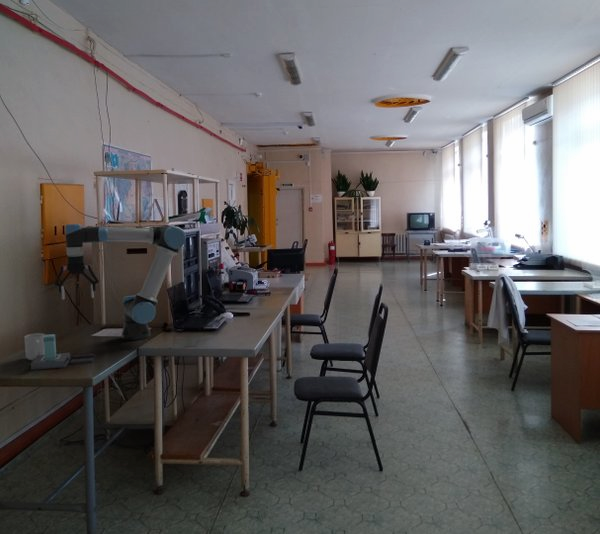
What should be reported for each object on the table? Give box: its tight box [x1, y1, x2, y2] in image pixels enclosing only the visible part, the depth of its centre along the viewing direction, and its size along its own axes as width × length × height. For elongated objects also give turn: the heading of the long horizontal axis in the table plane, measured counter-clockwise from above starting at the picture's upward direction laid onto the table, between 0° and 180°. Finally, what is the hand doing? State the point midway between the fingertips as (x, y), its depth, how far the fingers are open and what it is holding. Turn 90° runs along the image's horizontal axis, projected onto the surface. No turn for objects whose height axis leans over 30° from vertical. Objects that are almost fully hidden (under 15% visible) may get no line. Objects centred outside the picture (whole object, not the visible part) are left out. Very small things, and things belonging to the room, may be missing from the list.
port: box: [30, 352, 71, 371], centre depth 250 cm, size 14×14×4 cm
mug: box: [23, 332, 46, 361], centre depth 261 cm, size 12×9×11 cm
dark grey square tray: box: [68, 353, 96, 365], centre depth 255 cm, size 10×10×2 cm
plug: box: [43, 333, 57, 360], centre depth 249 cm, size 4×4×14 cm
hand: (78, 298), depth 271 cm, fingers open, 13 cm apart
